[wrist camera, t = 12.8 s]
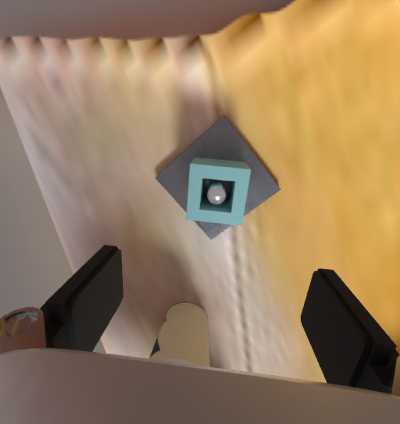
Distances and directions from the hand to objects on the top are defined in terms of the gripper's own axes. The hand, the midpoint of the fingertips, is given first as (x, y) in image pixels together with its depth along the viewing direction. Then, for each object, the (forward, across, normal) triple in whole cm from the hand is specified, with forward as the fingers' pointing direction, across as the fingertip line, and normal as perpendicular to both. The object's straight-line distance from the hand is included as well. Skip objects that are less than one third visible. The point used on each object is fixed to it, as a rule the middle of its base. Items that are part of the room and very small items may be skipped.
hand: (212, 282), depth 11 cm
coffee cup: (+22, +3, +25) cm, 33 cm away
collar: (+21, 0, 0) cm, 21 cm away
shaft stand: (+22, 0, 0) cm, 22 cm away
